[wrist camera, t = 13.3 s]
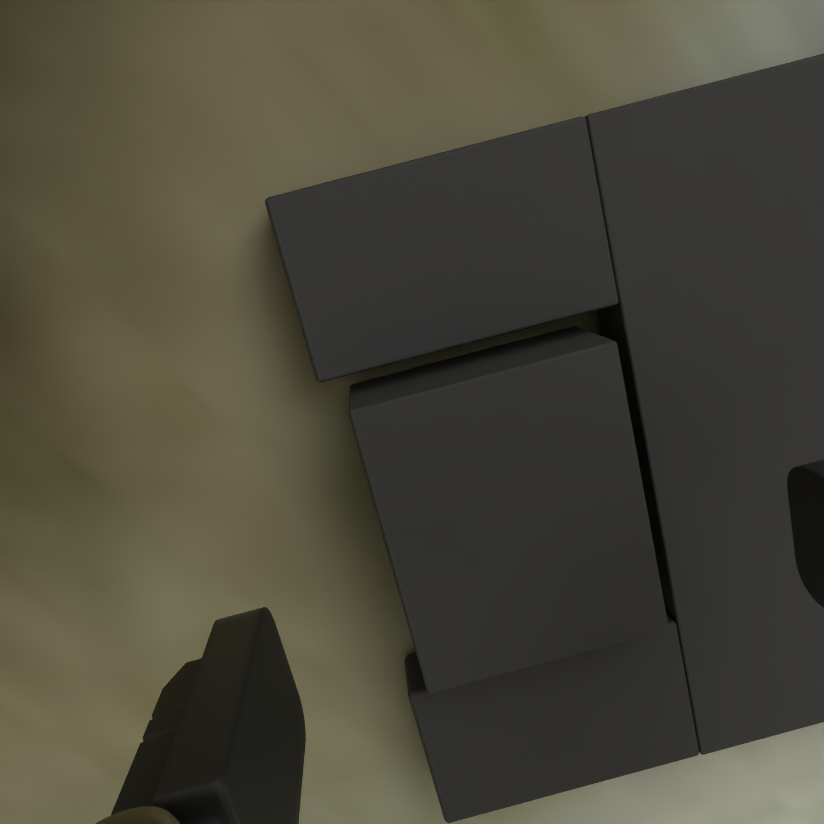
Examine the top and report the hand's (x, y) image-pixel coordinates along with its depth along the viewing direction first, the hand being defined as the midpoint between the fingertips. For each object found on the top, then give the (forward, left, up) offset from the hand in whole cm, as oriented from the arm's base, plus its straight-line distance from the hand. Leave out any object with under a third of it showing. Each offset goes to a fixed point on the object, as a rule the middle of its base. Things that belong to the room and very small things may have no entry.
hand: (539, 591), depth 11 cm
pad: (0, 0, -5) cm, 5 cm away
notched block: (0, +6, -5) cm, 8 cm away
